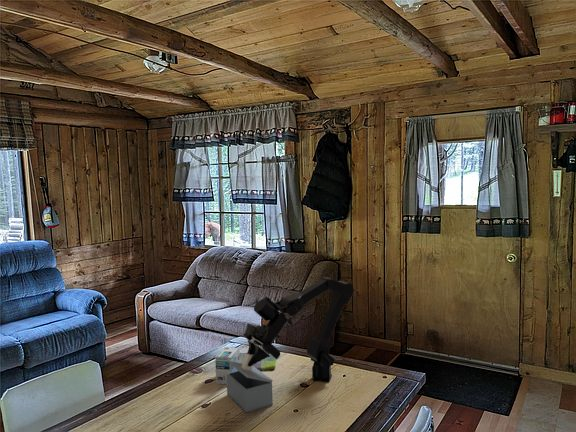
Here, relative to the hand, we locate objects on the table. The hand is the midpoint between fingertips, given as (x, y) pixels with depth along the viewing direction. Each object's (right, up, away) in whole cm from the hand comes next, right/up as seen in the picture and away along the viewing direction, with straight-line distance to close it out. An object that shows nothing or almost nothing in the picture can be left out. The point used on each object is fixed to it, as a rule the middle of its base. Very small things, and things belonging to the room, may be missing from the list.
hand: (246, 364), depth 159 cm
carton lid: (+1, -3, +1) cm, 3 cm away
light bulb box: (-9, -12, +20) cm, 25 cm away
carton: (+1, -13, +1) cm, 13 cm away
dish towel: (-3, -11, +35) cm, 36 cm away
